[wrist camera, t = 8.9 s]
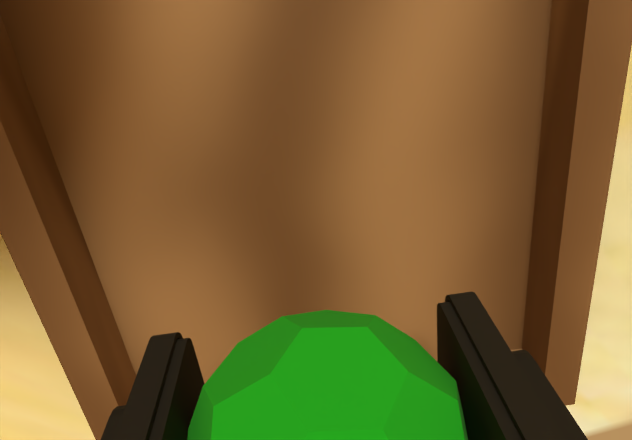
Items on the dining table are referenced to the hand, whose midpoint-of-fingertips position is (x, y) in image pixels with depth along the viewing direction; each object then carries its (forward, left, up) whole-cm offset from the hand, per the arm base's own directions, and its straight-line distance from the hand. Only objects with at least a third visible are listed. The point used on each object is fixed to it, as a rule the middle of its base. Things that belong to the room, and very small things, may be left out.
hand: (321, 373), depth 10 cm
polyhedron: (0, 0, -1) cm, 1 cm away
